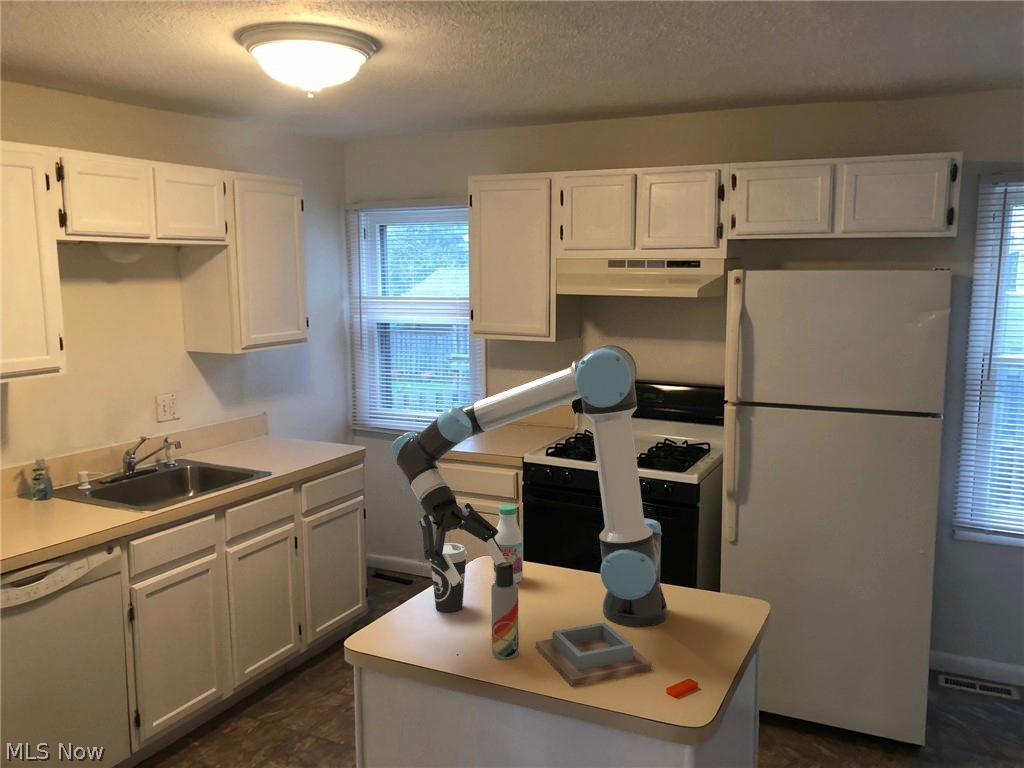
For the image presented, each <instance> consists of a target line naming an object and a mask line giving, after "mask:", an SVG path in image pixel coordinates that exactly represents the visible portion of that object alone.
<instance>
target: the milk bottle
mask: <svg viewBox="0 0 1024 768" xmlns="http://www.w3.org/2000/svg"><path fill="white" fill-rule="evenodd" d="M498 516H499V521H498V524H497V526H496V527H495V528H496V529H497V530H498V531H499V533H498V534H497V535H496V536H495V540H496V542H497V543H498V545H499V547H500V549H501V551H500V552H501V553H502V555H503V557H504V558H505V560H506V562H511V563H512V564H513V565H514V583H516V584H519V583H521V582H522V580H523V578H524V577H523V573H524V571H523V570H524V567H523V563H524V561H523V560H524V558H523V553H524V552H523V534H522V531H521V529H520V526H519V524H518V521H517V517H516V516H517V506H516V505H513V504H505V505H504V504H502V505H500V506H499V507H498ZM493 580H494V581H495V582H496V565H495V563H494V562H493Z"/></svg>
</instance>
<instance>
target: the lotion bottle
mask: <svg viewBox="0 0 1024 768" xmlns="http://www.w3.org/2000/svg"><path fill="white" fill-rule="evenodd" d="M490 590H491V591H490V592H491V593H490V595H491V596H490V597H491V599H490V600H491V602H490V603H491V604H490V605H491V613H490V614H491V654H492V656H493V657H494V658H496V659H497V660H498V659H499V660H511V659H513V658H516V657H517V656H518V655H519V649H520V648H519V639H520V637H519V585H518V583H514V565H513V564H512V563H511V562H502V563H500V564H497V565H496V581H495V582H493V584H491V588H490Z"/></svg>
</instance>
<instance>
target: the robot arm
mask: <svg viewBox="0 0 1024 768" xmlns="http://www.w3.org/2000/svg"><path fill="white" fill-rule="evenodd" d="M637 369H638V367H637V362H636V360H635V358H634V357H633V355H632V354H631V353H630V351H628V350H627V349H626V348H625V347H624V348H623V347H621V346H619V345H615V344H614V345H613V344H611V345H610V344H609V345H608V344H607V345H603V346H600V347H598V348H596V349H593V350H591V351H590V352H588V353H587V354H586V355H584V356H583V357H581V358H579V359H576V360H574V361H572V364H571V365H570V366H569V367H567V368H564V369H562V370H559V371H556V372H553V373H551V374H548V375H545V376H542V377H540V378H537V379H534V380H532V381H529V382H527V383H524V384H521V385H519V386H515V387H513V388H510V389H508V390H505V391H502V392H499V393H497V394H494V395H491V396H489V397H486V398H483V399H481V400H477V401H475V402H473V403H469V404H467V405H462V406H459V407H455V406H452V407H448V409H446V410H445V411H443V412H442V413H440V415H439V416H438V417H437V418H436V419H435V420H433V421H432V422H431V423H430V424H428V426H427V427H426V428H425V429H424V430H422V431H421V432H419V433H418V432H415V431H408V432H405V433H403V434H402V435H401V436H398V437H397V438H396V439H395V440H394V441H393V442H392V444H391V446H390V450H391V454H392V456H393V457H394V459H395V463H396V464H397V466H398V467H399V468H400V470H401V472H402V474H403V475H404V477H405V479H406V480H407V482H408V484H409V485H410V488H411V489H412V491H413V494H415V497H416V499H417V500H418V501H419V502H420V506H421V508H422V509H423V511H424V513H425V514H424V515H423V516H422V517H420V519H419V520H418V524H419V525H420V527H421V530H422V542H423V553H424V554H423V555H424V556H423V557H424V559H425V560H429V559H431V560H430V562H431V561H432V562H437V564H438V565H439V567H440V569H441V571H442V572H445V573H446V575H447V577H448V579H449V580H450V582H451V584H452V586H456V584H457V583H458V582H459V581H460V580H461V577H460V576H459V574H458V572H457V570H456V568H455V567H454V565H453V563H452V561H451V560H450V558H449V556H448V554H447V553H444V554H443V555H442V553H443V547H444V543H445V540H446V534H447V533H448V532H450V531H455V530H458V529H459V530H460V531H465V532H466V533H469V534H470V535H472V536H474V537H476V538H478V539H479V540H480V541H482V542H484V543H485V544H483V545H484V547H485V549H486V551H487V553H488V554H489V556H490V558H491V560H492V562H493V564H494V563H495V565H497V564H500V563H502V562H506V560H505V558H504V557H503V555H502V553H501V552H500V551H501V549H500V547H499V545H498V543H497V542H496V540H495V536H496V535H497V534H498V533H499V531H498V530H497V529H496V528H497V527H495V526H494V525H492V523H490V522H489V521H488V520H487V519H485V518H484V517H483V515H481V514H479V513H478V512H477V511H476V510H475V509H474V508H473V506H472V505H471V504H470V503H468V502H466V503H465V505H463V506H461V507H460V506H459V504H457V497H456V496H455V494H454V492H453V491H452V489H451V487H450V486H448V482H447V481H446V480H447V479H445V477H444V476H443V474H442V472H441V470H440V469H439V467H438V464H437V462H438V461H439V460H440V459H442V458H443V457H444V456H446V455H447V454H448V453H449V452H450V451H452V450H453V449H455V447H456V446H458V445H460V444H461V443H463V442H464V441H466V440H467V439H469V438H472V437H475V436H477V435H480V434H484V433H485V432H488V431H491V430H493V429H496V428H499V427H502V426H505V425H508V424H510V423H513V422H516V421H519V420H522V419H525V418H527V417H530V416H533V415H535V414H539V413H541V412H542V413H543V412H545V411H548V410H550V409H552V408H553V409H554V408H556V407H559V406H562V405H564V404H567V403H570V402H573V401H576V400H578V399H580V400H581V405H582V412H583V415H584V416H585V417H586V418H588V419H589V420H590V421H591V427H592V429H591V430H592V437H593V441H594V451H595V458H596V467H597V473H598V481H599V489H600V490H599V491H600V498H601V505H602V512H603V521H604V528H603V530H602V531H601V532H600V533H599V543H600V545H599V546H600V552H601V553H600V554H601V561H602V562H601V565H600V570H599V573H600V578H601V582H602V584H603V586H604V588H605V589H606V593H605V595H604V599H603V602H602V614H603V616H604V617H605V618H606V619H608V620H609V621H611V622H613V623H616V624H619V625H623V626H631V627H648V626H655V625H658V624H660V623H662V622H664V621H665V620H666V618H667V617H668V605H667V602H666V601H667V600H666V599H665V595H664V592H663V589H662V585H661V550H662V549H661V546H662V545H661V544H662V540H661V539H662V538H661V537H662V535H663V533H662V527H661V526H662V525H661V524H660V522H659V521H657V520H655V519H652V518H645V515H644V510H643V507H644V506H643V501H642V492H641V491H642V490H641V484H640V476H639V468H638V460H637V454H636V453H637V452H636V445H635V436H634V428H633V420H632V416H633V413H634V412H635V411H636V410H637V409H638V402H637V401H638V400H637V394H636V385H635V382H636V379H637V374H638V373H637V371H638V370H637ZM433 526H436V528H435V529H436V530H435V538H434V531H433V530H434V529H433ZM434 539H435V540H434Z"/></svg>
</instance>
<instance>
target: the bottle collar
mask: <svg viewBox="0 0 1024 768" xmlns="http://www.w3.org/2000/svg"><path fill="white" fill-rule="evenodd" d="M552 639H553V646H554V647H555V648H556V649H557V650H558V651H559V652H560V653H561V654H562V655H563V656H564V657H565V658H566V659H567V660H568V661H569V662H570V663H571V664H572V665H573V666H574V667H575V668H576V669H577V670H578V671H579V670H584V669H589V668H594V667H599V666H604V665H609V664H614V663H619V662H624V661H629V660H633V648H634V645H633V644H631V642H629V641H628V640H627V639H625V638H624V637H623V636H621V635H620V634H619V633H618V632H617V631H616V630H614V629H613V628H612V627H611V626H610V625H609V624H607V623H606V622H599V623H594V624H593V623H592V624H588V625H587V624H586V625H581V626H577V627H570V628H565V629H558V630H552ZM597 639H603V640H604V641H606V642H607V643H608V644H609V645H610V646H611V647H609V648H603V649H598V650H593V651H587V652H582V653H581V652H580V651H579V650H578V649H577V648H576V647H575V646H573V645H572V644H575V643H580V642H586V641H591V640H597Z"/></svg>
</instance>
